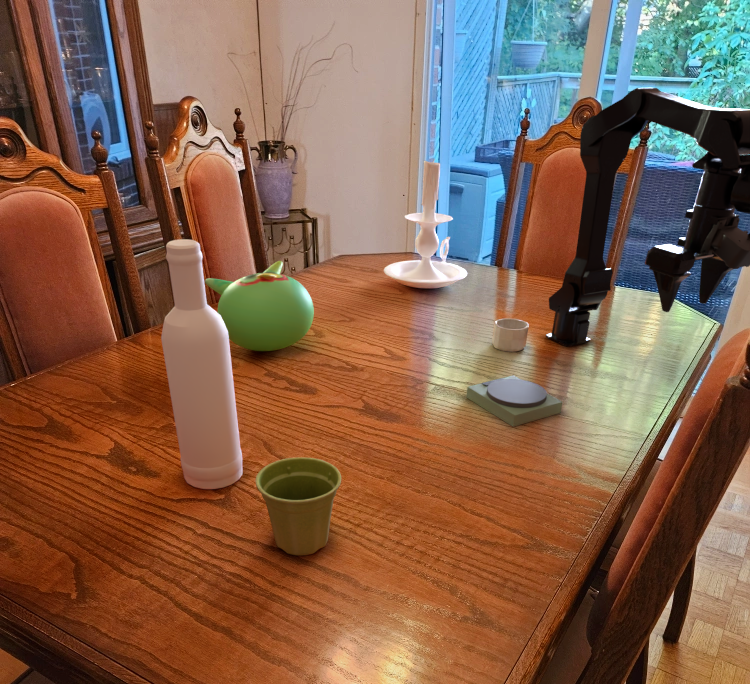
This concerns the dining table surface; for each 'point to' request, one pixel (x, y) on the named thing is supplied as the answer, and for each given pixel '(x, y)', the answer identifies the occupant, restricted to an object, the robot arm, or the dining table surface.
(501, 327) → the cup
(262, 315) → the green rounded piece
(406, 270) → the candlestick
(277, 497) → the plant pot
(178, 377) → the bottle
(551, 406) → the scale
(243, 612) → the dining table surface
